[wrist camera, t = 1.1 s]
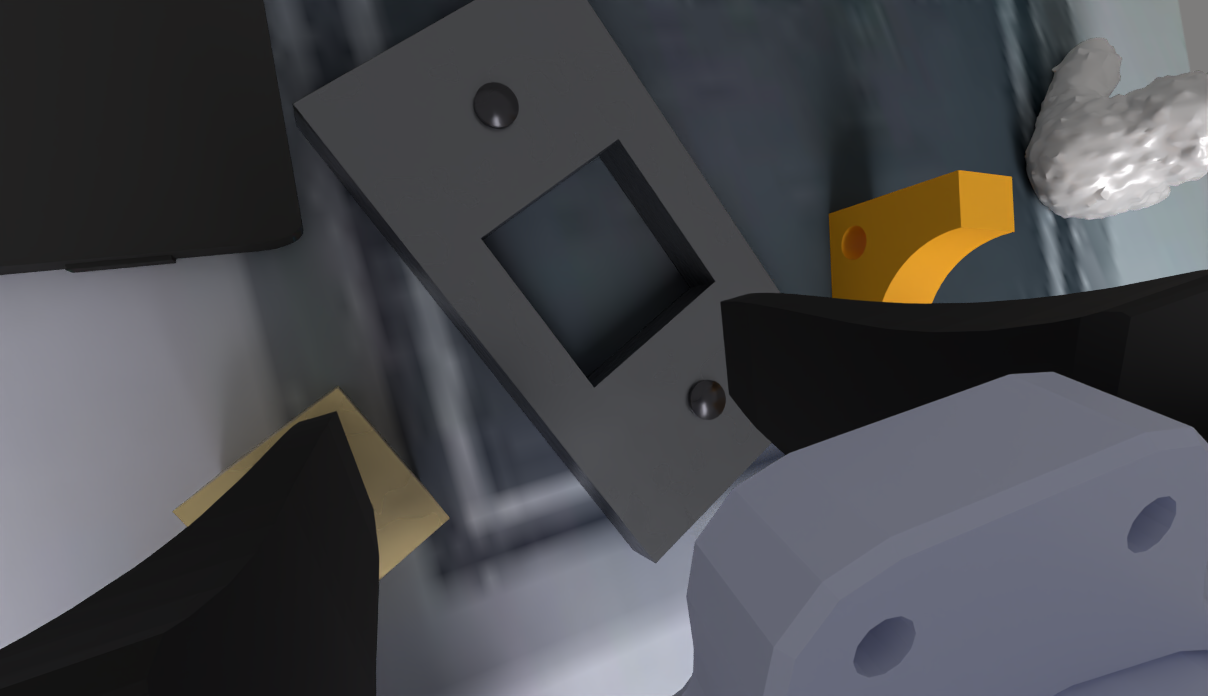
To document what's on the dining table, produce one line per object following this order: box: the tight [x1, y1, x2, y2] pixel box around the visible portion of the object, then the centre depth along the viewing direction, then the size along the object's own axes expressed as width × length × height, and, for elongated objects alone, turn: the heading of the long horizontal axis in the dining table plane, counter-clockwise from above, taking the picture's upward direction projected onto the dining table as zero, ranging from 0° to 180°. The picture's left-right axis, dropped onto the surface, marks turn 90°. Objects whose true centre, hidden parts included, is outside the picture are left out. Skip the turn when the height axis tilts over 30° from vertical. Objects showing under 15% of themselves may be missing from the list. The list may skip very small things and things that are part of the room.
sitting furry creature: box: [1025, 38, 1208, 220], centre depth 28 cm, size 10×9×12 cm
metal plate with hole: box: [293, 0, 780, 563], centre depth 23 cm, size 10×18×2 cm, turn 38°
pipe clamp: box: [829, 170, 1014, 304], centre depth 26 cm, size 12×4×6 cm, turn 1°
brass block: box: [172, 386, 449, 580], centre depth 17 cm, size 4×4×6 cm
